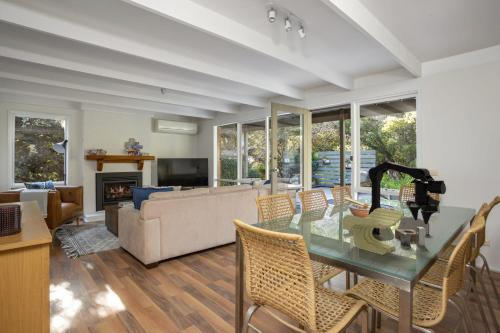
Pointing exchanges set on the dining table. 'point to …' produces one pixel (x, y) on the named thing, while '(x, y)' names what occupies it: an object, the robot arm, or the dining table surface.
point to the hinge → (413, 224)
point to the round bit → (405, 239)
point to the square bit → (420, 236)
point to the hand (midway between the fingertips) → (420, 222)
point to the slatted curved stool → (366, 225)
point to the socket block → (412, 232)
